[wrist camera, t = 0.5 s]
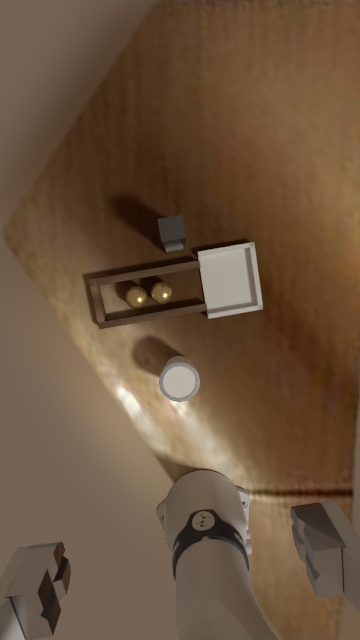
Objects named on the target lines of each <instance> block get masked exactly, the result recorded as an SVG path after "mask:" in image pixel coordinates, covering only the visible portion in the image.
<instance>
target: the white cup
mask: <svg viewBox="0 0 360 640" xmlns="http://www.w3.org/2000/svg"><path fill="white" fill-rule="evenodd" d="M159 385H160V390H161V391H162V393H163V394H164V396H166V397H167V398H168V399H170V400H172V401H177V402H182V401H187V400H189V399H190V398H192V397H194V395H195V394H196V393H197V391H198V389H199V385H200V379H199V375H198V373H197V371H196V369H195V368H194V366H193V364H192V363H191V361H190V360H189V359H187V358H186V357H183V356H174V357H172V358H171V359H169V360H168V361H167V363H166V364H165V366H164V368H163V371H162V373H161V375H160V380H159Z"/></svg>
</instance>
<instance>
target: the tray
mask: <svg viewBox="0 0 360 640" xmlns="http://www.w3.org/2000/svg"><path fill="white" fill-rule="evenodd" d="M197 254H198V260H200V266H201V267H200V273H201V279H202V285H203V291H204V297H205V303H206V304H207V316H208V318H215V317H220V316H226V315H232V314H238V313H243V312H249V311H255V310H261V309H263V304H262V296H261V289H260V282H259V274H258V267H257V260H256V252H255V245H254V242H251V243H245V244H239V245H234V246H228V247H222V248H217V249H211V250H205V251H200V252H197Z"/></svg>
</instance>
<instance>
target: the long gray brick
mask: <svg viewBox="0 0 360 640" xmlns="http://www.w3.org/2000/svg"><path fill="white" fill-rule="evenodd" d="M157 220H158V226H159V231H160V237H161V242H162V245H163V248H165V249H166V254H168V253H174V252H179V251H183V245H185V241H186V233H185V227H184V221H183V215H178V216H172V217H167V218H161V219H157Z"/></svg>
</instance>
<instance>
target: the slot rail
mask: <svg viewBox="0 0 360 640" xmlns="http://www.w3.org/2000/svg"><path fill="white" fill-rule="evenodd" d="M200 267H201V266H200V260H199V261H193V262H188V263H182V264H176V265H171V266H165V267H159V268H154V269H148V270H142V271H136V272H131V273H125V274H119V275H114V276H108V277H102V278H96V279H91V280H89V284H90V288H91V293H92V298H93V302H94V307H95V312H96V317H97V321H98V326H99V329H104V328H110V327H115V326H121V325H127V324H132V323H138V322H144V321H150V320H155V319H161V318H167V317H173V316H178V315H184V314H190V313H196V312H201V311H207V304H206V303H203V304H197V305H191V306H185V307H180V308H174V309H168V310H162V311H157V312H151V313H145V314H139V315H134V316H128V317H122V318H117V319H111V320H107V318H106V313H105V308H104V303H103V298H102V294H101V289H100V285H105V284H110V283H116V282H122V281H128V280H133V279H139V278H145V277H150V276H156V275H162V274H168V273H173V272H179V271H185V270H190V269H196V268H200Z"/></svg>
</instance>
